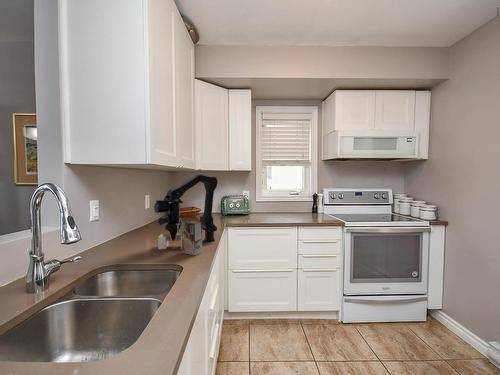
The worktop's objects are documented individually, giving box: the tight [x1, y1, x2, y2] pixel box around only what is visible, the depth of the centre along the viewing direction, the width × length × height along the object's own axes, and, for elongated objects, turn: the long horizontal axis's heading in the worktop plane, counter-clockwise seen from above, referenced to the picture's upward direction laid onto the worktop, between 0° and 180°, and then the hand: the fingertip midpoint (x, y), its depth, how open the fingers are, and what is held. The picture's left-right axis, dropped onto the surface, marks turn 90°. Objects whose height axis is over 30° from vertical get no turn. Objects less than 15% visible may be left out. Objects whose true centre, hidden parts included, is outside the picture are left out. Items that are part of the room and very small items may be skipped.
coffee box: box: [181, 220, 203, 256], centre depth 134 cm, size 9×6×16 cm
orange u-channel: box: [169, 232, 179, 244], centre depth 144 cm, size 7×3×7 cm, turn 7°
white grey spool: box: [157, 233, 182, 250], centre depth 144 cm, size 16×7×7 cm, turn 97°
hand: (174, 239), depth 144 cm, fingers closed on orange u-channel, 7 cm apart
